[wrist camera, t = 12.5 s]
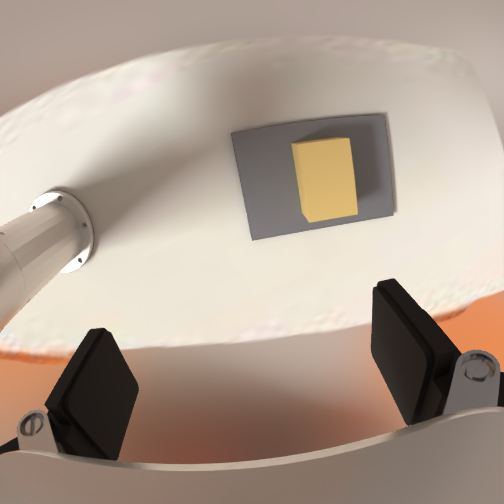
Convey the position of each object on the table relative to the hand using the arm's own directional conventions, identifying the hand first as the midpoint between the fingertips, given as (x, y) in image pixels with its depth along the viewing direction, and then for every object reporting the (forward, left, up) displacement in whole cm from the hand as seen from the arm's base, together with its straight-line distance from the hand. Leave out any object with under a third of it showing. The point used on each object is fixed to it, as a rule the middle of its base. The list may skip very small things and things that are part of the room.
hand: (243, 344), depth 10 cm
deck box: (+10, 0, -30) cm, 31 cm away
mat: (+10, 0, -30) cm, 32 cm away
